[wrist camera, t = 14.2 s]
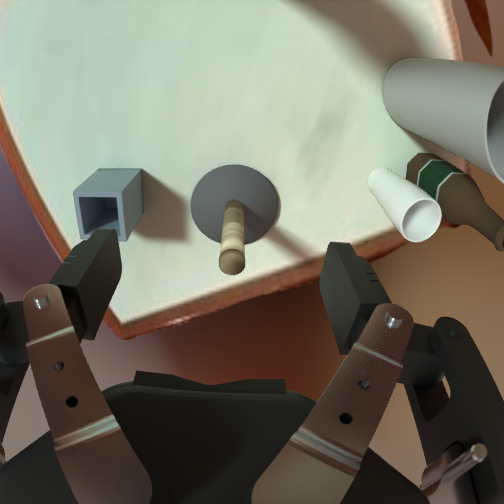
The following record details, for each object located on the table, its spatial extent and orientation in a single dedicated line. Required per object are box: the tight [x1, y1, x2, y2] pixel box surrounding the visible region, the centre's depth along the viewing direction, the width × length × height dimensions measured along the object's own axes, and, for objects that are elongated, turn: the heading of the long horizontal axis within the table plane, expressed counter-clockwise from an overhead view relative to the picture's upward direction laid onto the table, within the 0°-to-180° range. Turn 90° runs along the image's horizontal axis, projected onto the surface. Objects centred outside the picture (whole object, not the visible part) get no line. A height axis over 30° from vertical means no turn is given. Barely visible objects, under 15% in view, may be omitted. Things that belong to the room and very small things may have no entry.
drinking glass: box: [367, 167, 442, 242], centre depth 44 cm, size 7×7×15 cm
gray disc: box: [191, 165, 278, 244], centre depth 52 cm, size 14×14×1 cm
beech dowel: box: [219, 200, 245, 275], centre depth 45 cm, size 3×3×16 cm
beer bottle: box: [406, 153, 504, 251], centre depth 39 cm, size 8×8×24 cm
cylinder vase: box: [382, 58, 504, 183], centre depth 31 cm, size 12×12×25 cm
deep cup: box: [73, 168, 144, 242], centre depth 45 cm, size 8×8×10 cm
